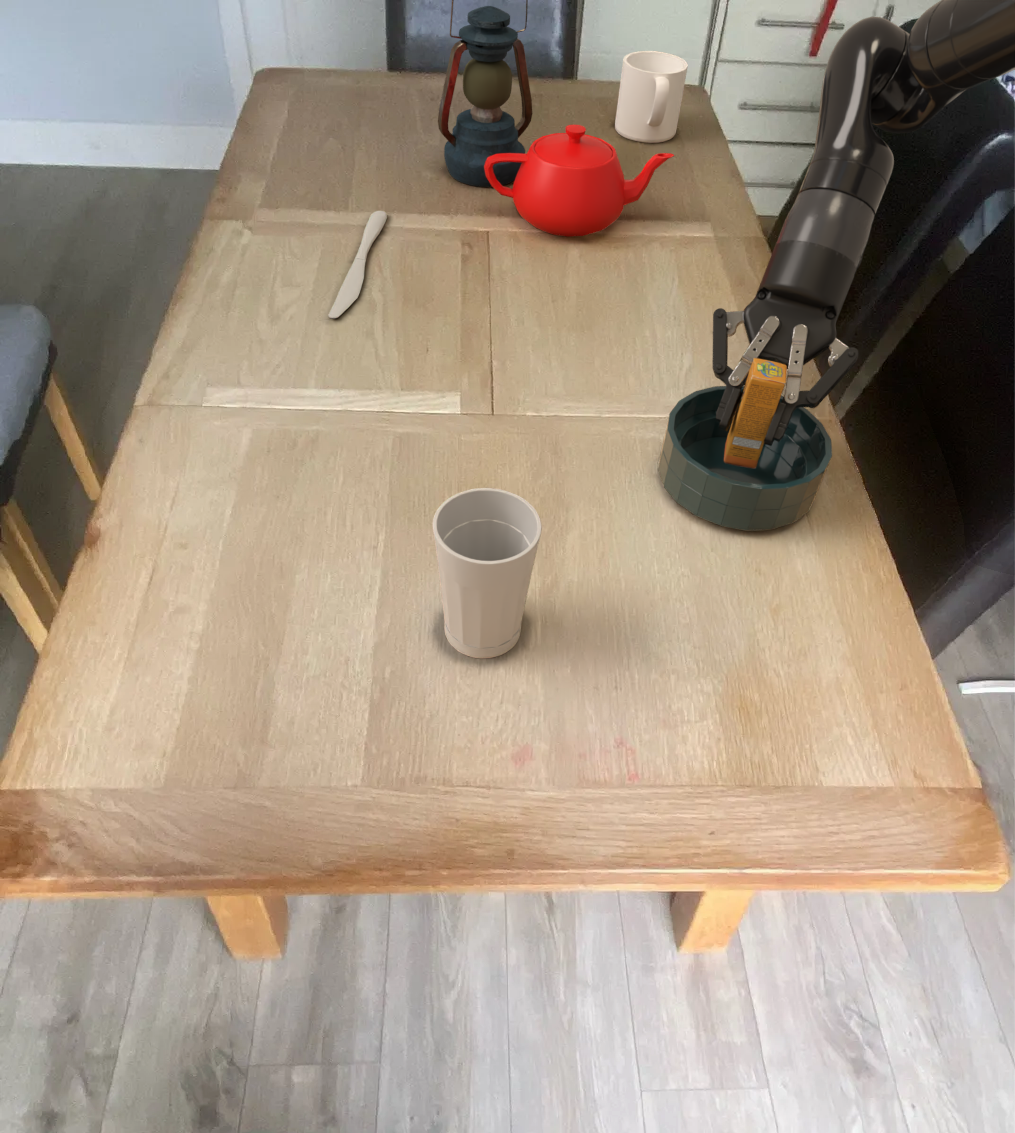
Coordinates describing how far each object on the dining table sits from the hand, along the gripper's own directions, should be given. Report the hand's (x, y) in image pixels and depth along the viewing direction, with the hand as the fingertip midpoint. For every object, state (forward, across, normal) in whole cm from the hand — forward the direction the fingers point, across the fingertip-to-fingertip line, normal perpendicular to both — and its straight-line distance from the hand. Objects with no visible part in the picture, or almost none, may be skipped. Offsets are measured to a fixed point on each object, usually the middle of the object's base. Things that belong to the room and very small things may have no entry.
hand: (745, 435), depth 83 cm
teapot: (-26, -36, +36) cm, 57 cm away
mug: (-49, -38, +60) cm, 87 cm away
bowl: (+4, 0, +6) cm, 7 cm away
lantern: (-30, -53, +41) cm, 74 cm away
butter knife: (-8, -54, +18) cm, 57 cm away
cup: (+24, -13, -14) cm, 30 cm away
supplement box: (+2, 0, +4) cm, 5 cm away
